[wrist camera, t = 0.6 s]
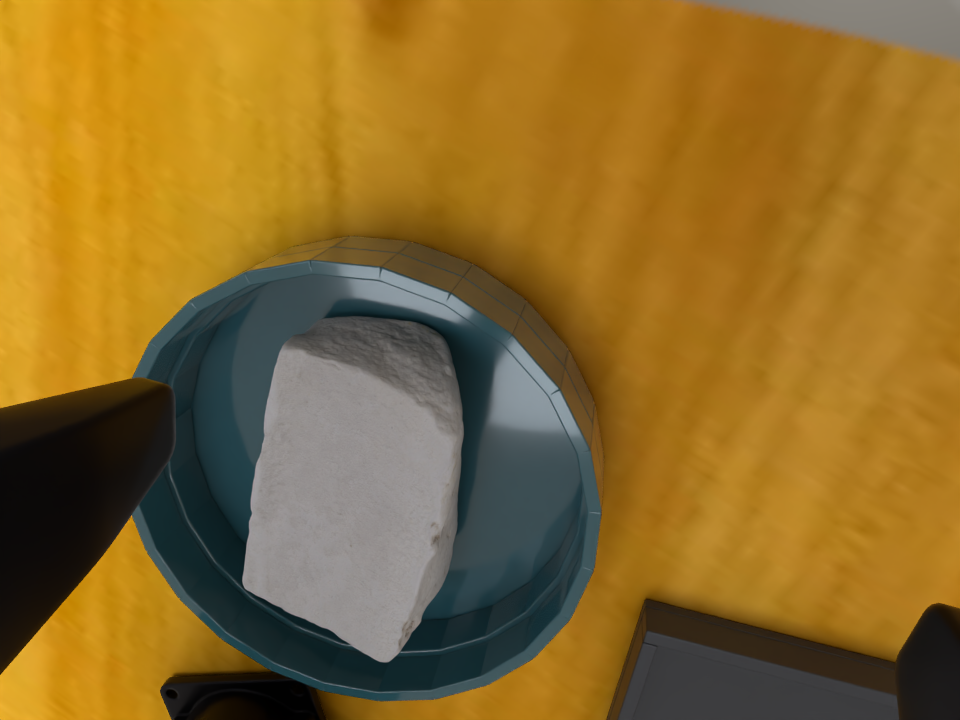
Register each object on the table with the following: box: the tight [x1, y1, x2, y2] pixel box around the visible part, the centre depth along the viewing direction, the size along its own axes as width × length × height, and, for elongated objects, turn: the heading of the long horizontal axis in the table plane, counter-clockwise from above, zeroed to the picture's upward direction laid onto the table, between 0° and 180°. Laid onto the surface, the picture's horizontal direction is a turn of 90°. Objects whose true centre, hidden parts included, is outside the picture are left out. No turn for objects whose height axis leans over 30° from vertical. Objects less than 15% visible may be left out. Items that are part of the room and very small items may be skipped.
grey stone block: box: [242, 316, 464, 662], centre depth 23 cm, size 10×6×6 cm, turn 163°
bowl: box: [132, 236, 604, 701], centre depth 24 cm, size 14×14×4 cm
